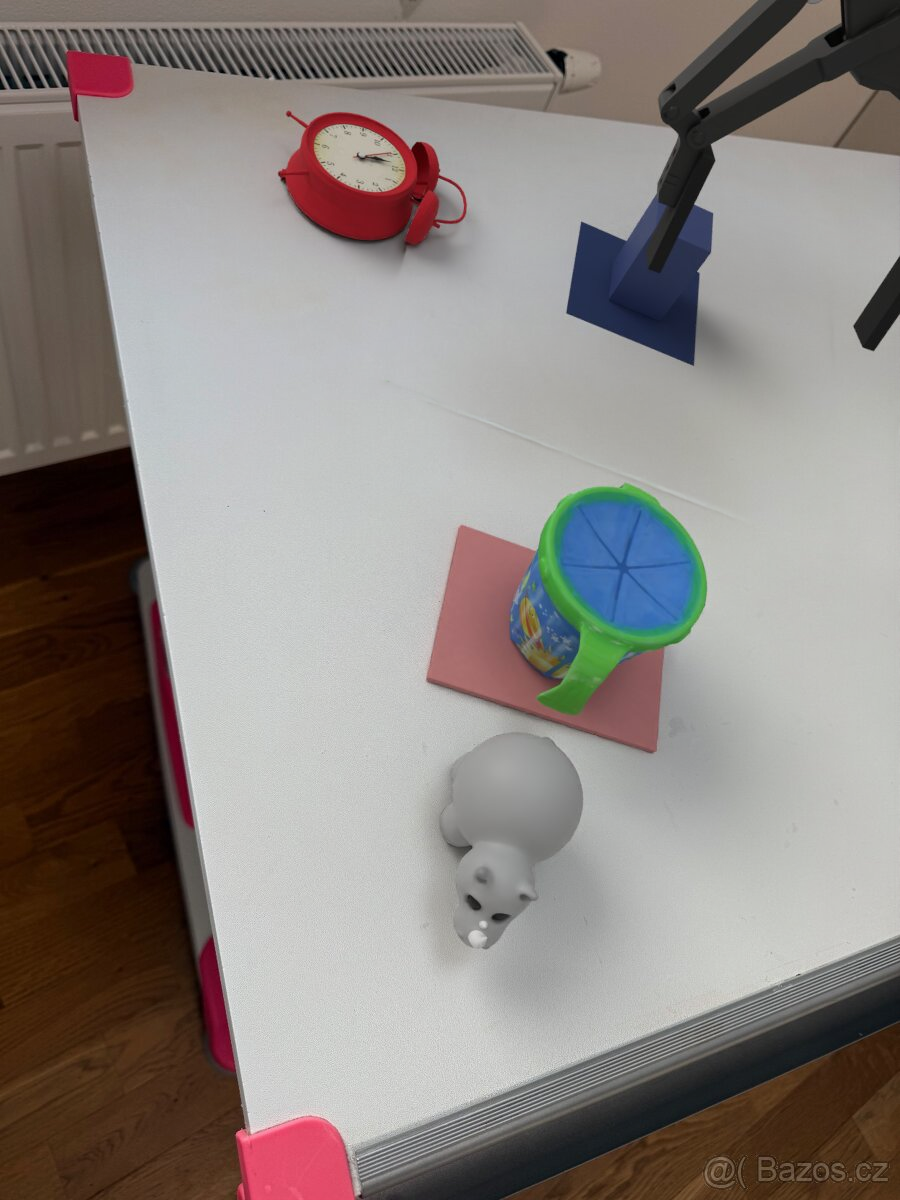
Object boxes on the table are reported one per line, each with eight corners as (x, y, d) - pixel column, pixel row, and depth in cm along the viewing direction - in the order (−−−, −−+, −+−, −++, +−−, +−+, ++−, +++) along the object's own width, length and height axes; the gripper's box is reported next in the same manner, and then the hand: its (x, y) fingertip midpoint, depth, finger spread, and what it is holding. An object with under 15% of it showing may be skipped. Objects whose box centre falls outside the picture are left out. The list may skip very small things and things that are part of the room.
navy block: (663, 283, 86) (713, 212, 79) (660, 322, 83) (711, 252, 77) (613, 261, 85) (659, 188, 78) (608, 300, 82) (655, 227, 76)
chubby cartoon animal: (382, 934, 53) (431, 904, 46) (450, 743, 59) (501, 691, 52) (500, 984, 53) (566, 963, 46) (554, 791, 60) (619, 746, 53)
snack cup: (587, 770, 61) (671, 712, 52) (443, 686, 60) (504, 614, 52) (655, 588, 69) (736, 514, 61) (529, 513, 69) (594, 428, 60)
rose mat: (664, 600, 70) (667, 597, 69) (653, 753, 64) (657, 751, 63) (458, 527, 67) (461, 523, 66) (425, 680, 61) (428, 677, 60)
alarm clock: (284, 90, 76) (473, 108, 77) (287, 159, 81) (464, 176, 83) (272, 179, 71) (475, 197, 72) (277, 247, 76) (465, 263, 78)
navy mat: (696, 276, 89) (699, 272, 88) (691, 369, 83) (694, 365, 82) (578, 225, 87) (581, 220, 86) (563, 317, 80) (566, 312, 80)
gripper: (1207, -38, 47) (930, 339, 61) (740, -247, 44) (561, 203, 58) (1290, -5, 41) (965, 401, 56) (762, -241, 38) (559, 255, 52)
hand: (759, 301), depth 57 cm, fingers open, 13 cm apart
